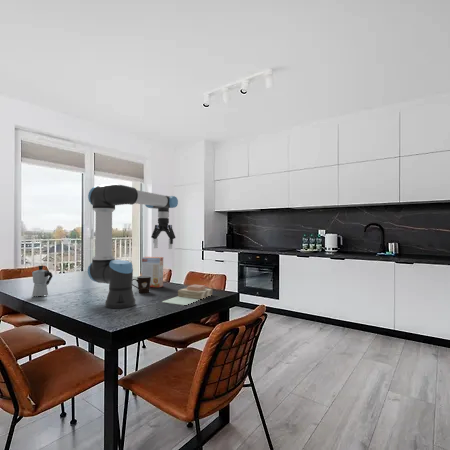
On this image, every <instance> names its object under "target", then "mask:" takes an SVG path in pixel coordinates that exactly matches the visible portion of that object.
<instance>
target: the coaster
mask: <svg viewBox="0 0 450 450" xmlns="http://www.w3.org/2000/svg"><path fill="white" fill-rule="evenodd" d="M186 288H187V290H193V291H200V290H203V289H205V288H206V285H205V284H204V285H203V284H191V285H188V286H186Z"/></svg>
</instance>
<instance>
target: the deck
mask: <svg viewBox="0 0 450 450" xmlns="http://www.w3.org/2000/svg"><path fill="white" fill-rule="evenodd" d="M211 295H212V296H213V288H207V287H205V289H203V290H200V291H193V290H187V287H184V288H180V289H178V290H177V296H178V297H185V298H193V299H202V300H204V299H207V298H209V297H208V296H210V297H211ZM206 297H207V298H206ZM203 298H204V299H203Z"/></svg>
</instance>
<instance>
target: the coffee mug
mask: <svg viewBox="0 0 450 450" xmlns="http://www.w3.org/2000/svg"><path fill="white" fill-rule="evenodd" d="M136 277H137V279H136V278H134V279H132V282H133V281H136V282H137V286H136V285H135V284H133V283H132V287H135V288H137V290H138V294H148V293H150V288H151V287H150V281H151V276H142V275H139V276H136Z"/></svg>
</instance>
